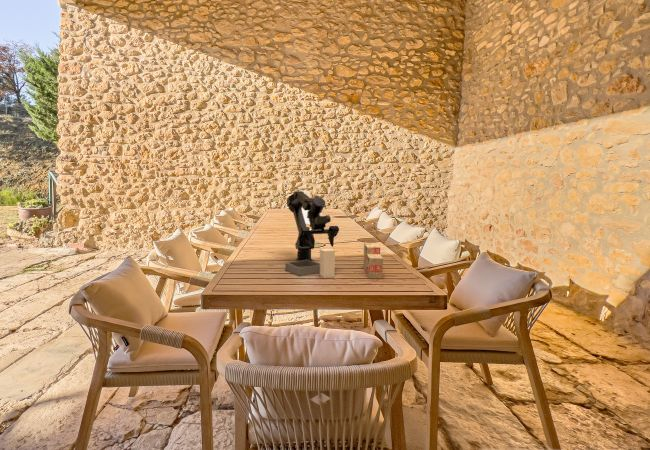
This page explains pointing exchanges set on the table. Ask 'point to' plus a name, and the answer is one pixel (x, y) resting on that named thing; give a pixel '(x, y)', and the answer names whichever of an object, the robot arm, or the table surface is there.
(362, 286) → the table surface
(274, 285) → the table surface
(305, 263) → the grey square tray
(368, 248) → the stack of blocks
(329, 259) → the cream block
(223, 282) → the table surface
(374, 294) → the table surface
